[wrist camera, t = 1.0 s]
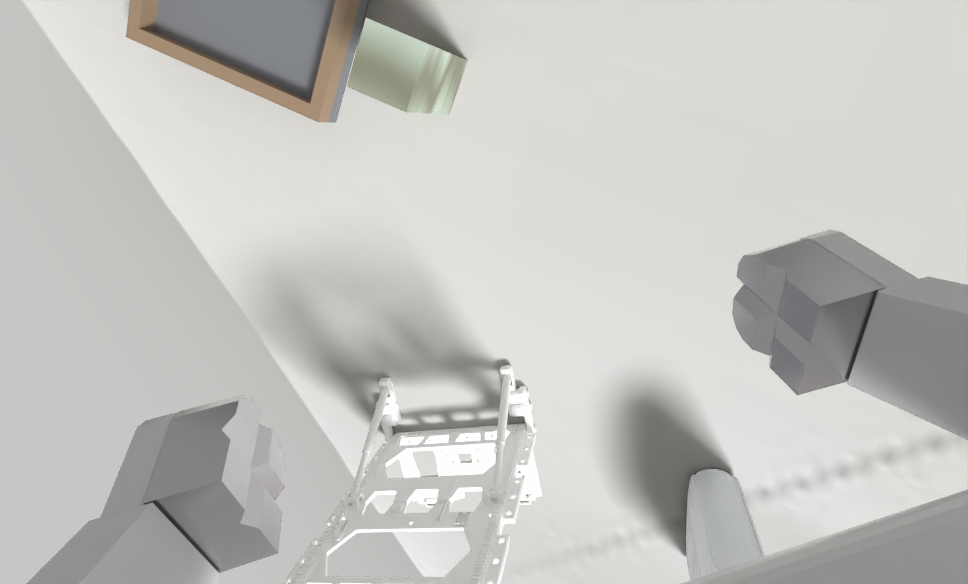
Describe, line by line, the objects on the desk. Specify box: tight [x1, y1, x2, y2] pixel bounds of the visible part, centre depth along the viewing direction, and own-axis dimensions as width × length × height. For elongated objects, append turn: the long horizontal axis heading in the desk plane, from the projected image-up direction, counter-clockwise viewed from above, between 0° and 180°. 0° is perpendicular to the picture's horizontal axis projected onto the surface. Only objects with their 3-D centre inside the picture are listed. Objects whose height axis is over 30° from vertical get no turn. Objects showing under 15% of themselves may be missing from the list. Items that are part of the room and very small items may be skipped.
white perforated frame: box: [283, 365, 542, 584], centre depth 40 cm, size 14×14×20 cm
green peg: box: [347, 18, 468, 114], centre depth 36 cm, size 4×4×9 cm
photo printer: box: [686, 469, 765, 581], centre depth 40 cm, size 10×4×12 cm, turn 5°
